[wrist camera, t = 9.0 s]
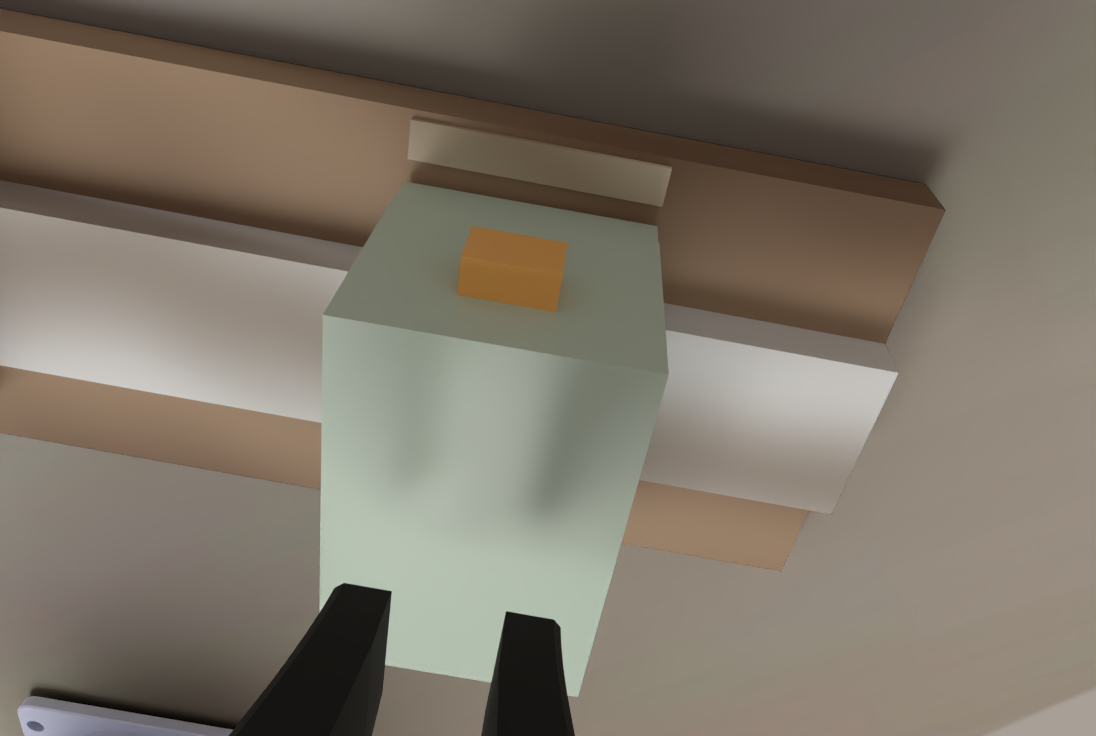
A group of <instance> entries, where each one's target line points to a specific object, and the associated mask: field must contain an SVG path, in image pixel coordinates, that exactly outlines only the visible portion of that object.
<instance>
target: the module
mask: <svg viewBox="0 0 1096 736" xmlns="http://www.w3.org/2000/svg"><path fill="white" fill-rule="evenodd" d="M668 376H669V371H668V357H667V343H666V329H665V315H664V301H663V287H662V272H661V258H660V244H659V242H658V228H657V226H654V225H648V224H642V223H637V222H631V221H626V220H620V219H614V218H609V217H603V216H597V215H592V214H586V213H580V212H575V211H569V210H563V209H558V208H552V207H546V206H541V205H535V204H529V203H524V202H518V201H512V200H507V199H501V198H496V197H490V196H484V195H479V194H473V193H467V192H462V191H456V190H450V189H445V188H439V187H433V186H428V185H422V184H416V183H411V182H405V181H404V182H403V184H402V186H401V187H400V189H399V191H398V192H397V194H396V196H394V197H393V198H392V200H391V202H390V203H389V205H388V207H387V208H386V210H385V212H384V213H383V215H382V217H381V218H380V220H379V222H378V223H377V225H376V227H375V228H374V230H373V232H372V233H371V235H370V237H369V238H368V240H367V242H366V243H365V245H364V247H363V248H362V250H361V252H360V253H359V255H358V257H357V258H356V260H355V262H354V263H353V265H352V267H351V268H350V270H349V272H348V273H347V275H346V277H345V278H344V280H343V282H342V283H341V285H340V287H339V288H338V290H337V292H336V293H335V295H334V297H333V298H332V300H331V302H330V303H329V305H328V307H327V308H326V310H325V312H324V313H323V330H322V425H321V520H320V611H321V610H322V608H323V607H324V605H325V603H326V602H327V600H328V598H329V596H330V595H331V593H332V591H333V589H334V588H335V587H337V586H339V585H341V584H343V583H348V584H353V585H359V586H365V587H370V588H376V589H382V590H388V591H392V595H391V606H390V616H389V627H388V637H387V648H386V659H385V665H388V666H394V667H400V668H406V669H412V670H418V671H424V672H430V673H436V674H442V675H448V676H454V677H460V678H466V679H472V680H478V681H484V682H490V683H491V681H492V677H493V672H494V667H495V662H496V657H497V652H498V647H499V643H500V638H501V633H502V628H503V623H504V618H505V613H506V611H508V612H514V613H519V614H525V615H531V616H536V617H542V618H548V619H554V620H555V621H556V623H557V624H558V625H559V626H560V627H561V647H562V658H563V667H564V675H565V683H566V689H567V695H569V696H575V697H578V695H579V691H580V688H581V684H582V680H583V677H584V673H585V670H586V666H587V663H588V659H589V656H590V652H591V649H592V645H593V641H594V638H595V634H596V631H597V627H598V624H599V620H600V617H601V613H602V610H603V606H604V603H605V599H606V595H607V592H608V588H609V585H610V581H611V578H612V574H613V571H614V567H615V564H616V560H617V556H618V553H619V549H620V546H621V542H622V539H623V535H624V532H625V528H626V525H627V521H628V517H629V514H630V510H631V507H632V503H633V500H634V496H635V493H636V489H637V486H638V482H639V478H640V475H641V471H642V468H643V464H644V461H645V457H646V454H647V450H648V447H649V443H650V440H651V436H652V432H653V429H654V425H655V422H656V418H657V415H658V411H659V408H660V404H661V401H662V397H663V393H664V390H665V386H666V383H667V379H668Z"/></svg>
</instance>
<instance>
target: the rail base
mask: <svg viewBox="0 0 1096 736" xmlns="http://www.w3.org/2000/svg"><path fill="white" fill-rule="evenodd" d="M404 181H405V182H411V183H416V184H422V185H428V186H433V187H439V188H445V189H450V190H456V191H462V192H467V193H473V194H479V195H484V196H490V197H496V198H501V199H507V200H512V201H518V202H524V203H529V204H535V205H541V206H546V207H552V208H558V209H563V210H569V211H575V212H580V213H586V214H592V215H597V216H603V217H609V218H614V219H620V220H626V221H631V222H637V223H642V224H648V225H654V226H657V228H658V242H659V244H660V258H661V272H662V287H663V301H664V315H665V329H666V343H667V357H668V371H669V376H668V379H667V383H666V386H665V390H664V393H663V397H662V401H661V404H660V408H659V411H658V415H657V418H656V422H655V425H654V429H653V432H652V436H651V440H650V443H649V447H648V450H647V454H646V457H645V461H644V464H643V468H642V471H641V475H640V478H639V482H638V486H637V489H636V493H635V496H634V500H633V503H632V507H631V510H630V514H629V517H628V521H627V525H626V528H625V532H624V535H623V539H622V542H621V543H624V544H629V545H635V546H641V547H646V548H652V549H658V550H663V551H669V552H674V553H680V554H686V555H691V556H697V557H703V558H708V559H714V560H720V561H725V562H731V563H736V564H742V565H748V566H753V567H759V568H765V569H770V570H776V571H782V569H783V567H784V565H785V562H786V560H787V558H788V556H789V553H790V551H791V549H792V547H793V545H794V542H795V540H796V538H797V536H798V534H799V531H800V529H801V527H802V525H803V523H804V520H805V518H806V516H807V514H808V512H809V510H810V511H815V512H821V513H826V514H832V512H833V510H834V508H835V506H836V503H837V501H838V499H839V497H840V495H841V493H842V491H843V489H844V487H845V485H846V482H847V480H848V478H849V476H850V474H851V472H852V470H853V468H854V466H855V464H856V461H857V459H858V457H859V455H860V453H861V451H862V449H863V447H864V445H865V442H866V440H867V438H868V436H869V434H870V432H871V430H872V428H873V426H874V424H875V421H876V419H877V417H878V415H879V413H880V411H881V409H882V407H883V405H884V402H885V400H886V398H887V396H888V394H889V392H890V390H891V388H892V386H893V384H894V381H895V379H896V377H897V375H898V371H897V369H896V366H895V364H894V362H893V360H892V358H891V356H890V354H889V352H888V350H887V347H886V345H885V342H886V340H887V338H888V335H889V333H890V331H891V329H892V327H893V324H894V322H895V320H896V318H897V316H898V313H899V311H900V309H901V307H902V305H903V302H904V300H905V298H906V296H907V294H908V291H909V289H910V287H911V285H912V283H913V280H914V278H915V276H916V274H917V272H918V269H919V267H920V265H921V263H922V261H923V258H924V256H925V254H926V252H927V250H928V247H929V245H930V243H931V241H932V238H933V236H934V234H935V232H936V230H937V227H938V225H939V223H940V221H941V219H942V216H943V214H944V212H945V209H944V207H943V206H942V205H941V204H940V202H939V201H938V200H937V198H936V197H935V196H934V195H933V193H932V192H931V191H930V189H929V188H928V187H927V186H926V184H922V183H917V182H911V181H906V180H901V179H896V178H890V177H885V176H880V175H874V174H869V173H864V172H859V171H853V170H848V169H843V168H838V167H832V166H827V165H822V164H817V163H811V162H806V161H801V160H796V159H790V158H785V157H780V156H774V155H769V154H764V153H759V152H753V151H748V150H743V149H738V148H732V147H727V146H722V145H717V144H711V143H706V142H701V141H695V140H690V139H685V138H680V137H674V136H669V135H664V134H659V133H653V132H648V131H643V130H638V129H632V128H627V127H622V126H616V125H611V124H606V123H601V122H595V121H590V120H585V119H580V118H574V117H569V116H564V115H559V114H553V113H548V112H543V111H537V110H532V109H527V108H522V107H516V106H511V105H506V104H501V103H495V102H490V101H485V100H480V99H474V98H469V97H464V96H458V95H453V94H448V93H443V92H437V91H432V90H427V89H422V88H416V87H411V86H406V85H401V84H395V83H390V82H385V81H379V80H374V79H369V78H364V77H358V76H353V75H348V74H343V73H337V72H332V71H327V70H322V69H316V68H311V67H306V66H301V65H295V64H290V63H285V62H279V61H274V60H269V59H264V58H258V57H253V56H248V55H243V54H237V53H232V52H227V51H222V50H216V49H211V48H206V47H200V46H195V45H190V44H185V43H179V42H174V41H169V40H164V39H158V38H153V37H148V36H143V35H137V34H132V33H127V32H121V31H116V30H111V29H106V28H100V27H95V26H90V25H85V24H79V23H74V22H69V21H64V20H58V19H53V18H48V17H42V16H37V15H32V14H27V13H21V12H16V11H11V10H6V9H0V433H3V434H9V435H15V436H20V437H26V438H32V439H37V440H43V441H49V442H54V443H60V444H65V445H71V446H77V447H82V448H88V449H94V450H99V451H105V452H111V453H116V454H122V455H127V456H133V457H139V458H144V459H150V460H156V461H161V462H167V463H173V464H178V465H184V466H189V467H195V468H201V469H206V470H212V471H218V472H223V473H229V474H235V475H240V476H246V477H252V478H257V479H263V480H268V481H274V482H280V483H285V484H291V485H297V486H302V487H308V488H314V489H319V490H321V425H322V330H323V313H324V312H325V310H326V308H327V307H328V305H329V303H330V302H331V300H332V298H333V297H334V295H335V293H336V292H337V290H338V288H339V287H340V285H341V283H342V282H343V280H344V278H345V277H346V275H347V273H348V272H349V270H350V268H351V267H352V265H353V263H354V262H355V260H356V258H357V257H358V255H359V253H360V252H361V250H362V248H363V247H364V245H365V243H366V242H367V240H368V238H369V237H370V235H371V233H372V232H373V230H374V228H375V227H376V225H377V223H378V222H379V220H380V218H381V217H382V215H383V213H384V212H385V210H386V208H387V207H388V205H389V203H390V202H391V200H392V198H393V197H394V196H396V194H397V192H398V191H399V189H400V187H401V186H402V184H403V182H404Z"/></svg>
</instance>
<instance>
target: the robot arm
mask: <svg viewBox="0 0 1096 736" xmlns="http://www.w3.org/2000/svg"><path fill="white" fill-rule="evenodd" d="M391 595H392V591H388V590H382V589H376V588H370V587H365V586H359V585H353V584H348V583H343V584H341V585H339V586H337V587H335V588H334V589H333V591H332V593H331V595H330V596H329V598H328V600H327V602H326V603H325V605H324V607H323V608H322V610H321V611H320V613H319V614H318V616H317V618H316V619H315V621H314V622H313V624H312V625H311V627H310V628H309V630H308V631H307V633H306V634H305V636H304V637H303V639H302V640H301V641H300V643H299V644H298V646H297V647H296V649H295V650H294V651H293V653H292V654H291V656H290V657H289V658H288V660H287V661H286V662H285V664H284V665H283V667H282V668H281V669H280V671H279V672H278V673H277V675H276V676H275V677H274V679H273V680H272V681H271V683H270V684H269V685H268V686H267V688H266V689H265V690H264V692H263V693H262V694H261V695H260V697H259V698H258V699H257V700H256V702H255V703H254V704H253V705H252V707H251V708H250V709H249V711H248V712H247V713H246V714H245V716H244V717H243V718H242V719H241V721H240V722H239V723H238V725H237V726H236V727H235V728H234V730H233V729H227V728H221V727H215V726H209V725H203V724H197V723H191V722H186V721H180V720H174V719H168V718H162V717H156V716H150V715H144V714H138V713H132V712H127V711H121V710H115V709H109V708H103V707H97V706H91V705H85V704H79V703H74V702H68V701H62V700H56V699H50V698H44V697H38V696H31V697H27V698H25V699H24V700H23V702H22V703H21V704H20V706H19V707H18V709H17V713H18V716H19V720H20V723H21V727H22V730H23V733H24V736H372V732H373V728H374V724H375V720H376V716H377V712H378V708H379V704H380V700H381V695H382V691H383V680H384V669H385V659H386V648H387V637H388V627H389V616H390V606H391ZM481 736H575V734H574V729H573V724H572V718H571V713H570V707H569V702H568V696H567V689H566V683H565V675H564V667H563V658H562V647H561V627H560V626H559V625H558V624H557V623H556V621H555V620H554V619H548V618H542V617H536V616H531V615H525V614H519V613H514V612H508V611H506V613H505V618H504V623H503V628H502V633H501V638H500V643H499V647H498V652H497V657H496V662H495V667H494V672H493V677H492V681H491V686H490V691H489V696H488V701H487V706H486V711H485V717H484V723H483V729H482V735H481Z"/></svg>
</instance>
